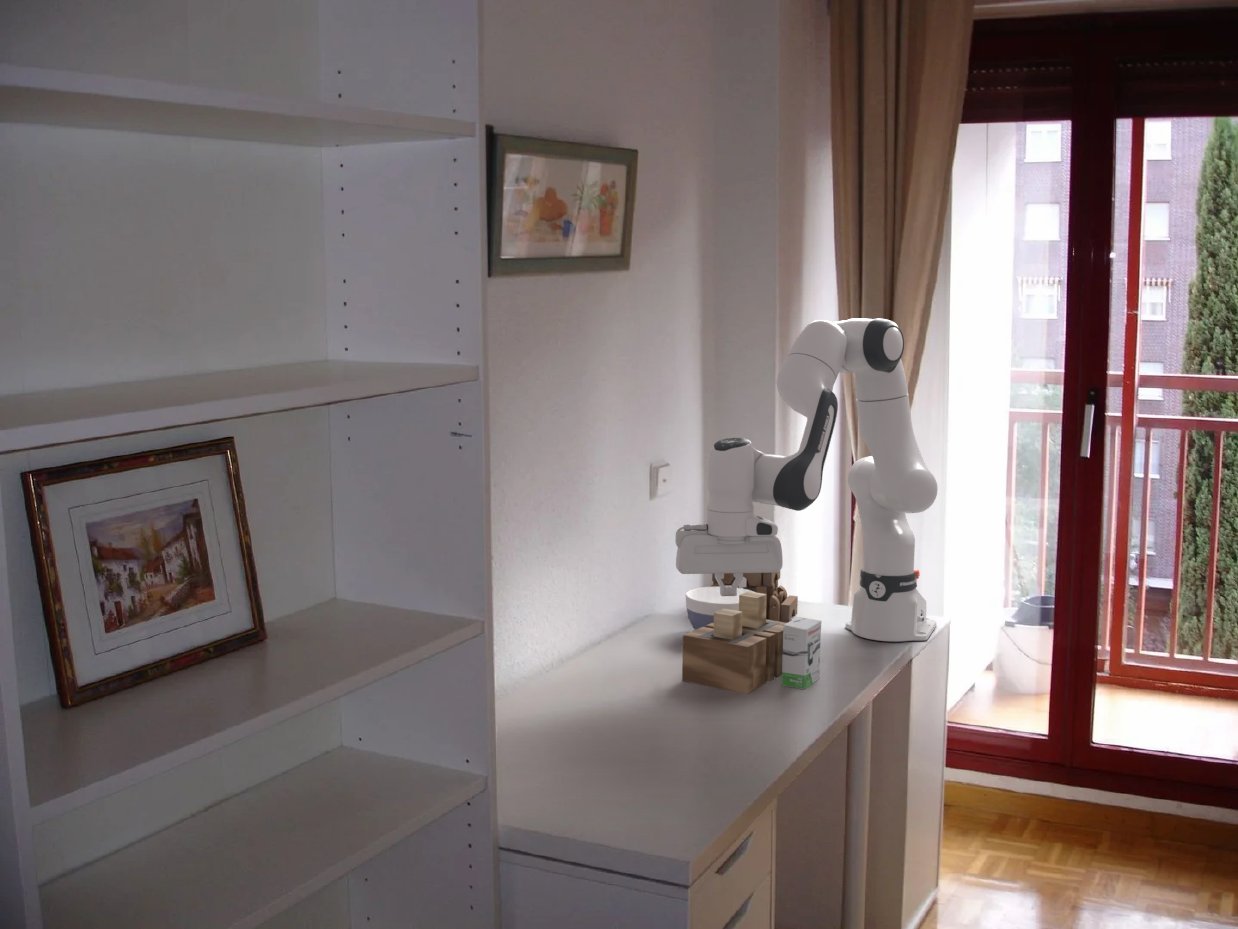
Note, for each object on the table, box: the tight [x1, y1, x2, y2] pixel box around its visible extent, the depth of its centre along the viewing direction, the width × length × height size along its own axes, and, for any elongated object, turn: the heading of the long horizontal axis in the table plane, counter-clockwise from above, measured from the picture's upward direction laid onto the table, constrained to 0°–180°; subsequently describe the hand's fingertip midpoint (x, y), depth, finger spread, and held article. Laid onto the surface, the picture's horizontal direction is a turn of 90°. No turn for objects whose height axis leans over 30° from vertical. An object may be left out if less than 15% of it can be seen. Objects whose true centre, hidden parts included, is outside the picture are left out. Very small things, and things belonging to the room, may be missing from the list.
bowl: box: [685, 586, 753, 630], centre depth 266 cm, size 16×16×10 cm
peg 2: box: [739, 592, 767, 629], centre depth 242 cm, size 4×4×9 cm
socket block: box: [681, 620, 786, 695], centre depth 239 cm, size 20×14×9 cm
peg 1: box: [713, 609, 742, 640], centre depth 234 cm, size 4×4×9 cm
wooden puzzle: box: [710, 570, 799, 623], centre depth 286 cm, size 22×15×19 cm, turn 70°
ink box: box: [781, 616, 822, 690], centre depth 234 cm, size 9×5×12 cm, turn 151°
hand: (728, 595), depth 233 cm, fingers closed
